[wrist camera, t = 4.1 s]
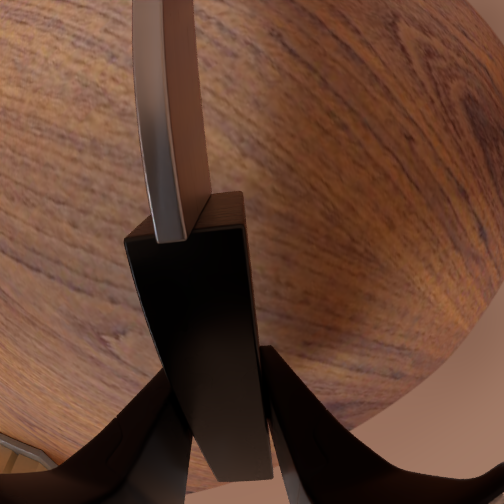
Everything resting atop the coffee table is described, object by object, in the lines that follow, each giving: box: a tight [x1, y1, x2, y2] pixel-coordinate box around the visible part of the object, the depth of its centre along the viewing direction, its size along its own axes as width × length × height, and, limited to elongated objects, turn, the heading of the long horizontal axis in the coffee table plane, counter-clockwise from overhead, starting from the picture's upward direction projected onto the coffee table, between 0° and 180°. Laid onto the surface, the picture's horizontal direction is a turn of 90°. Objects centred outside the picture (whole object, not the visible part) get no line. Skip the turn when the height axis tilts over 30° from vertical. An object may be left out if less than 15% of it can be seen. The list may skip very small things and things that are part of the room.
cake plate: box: [0, 433, 58, 474], centre depth 17 cm, size 12×12×7 cm
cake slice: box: [11, 454, 48, 473], centre depth 17 cm, size 8×4×6 cm, turn 5°
